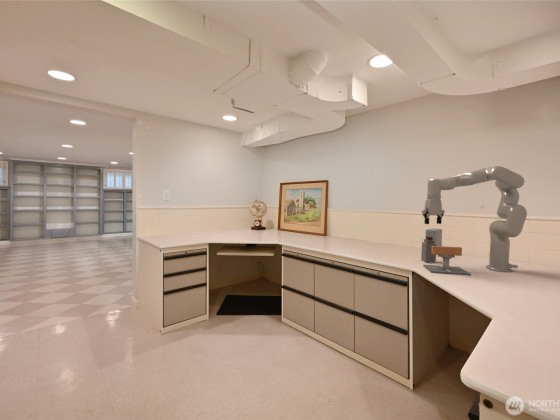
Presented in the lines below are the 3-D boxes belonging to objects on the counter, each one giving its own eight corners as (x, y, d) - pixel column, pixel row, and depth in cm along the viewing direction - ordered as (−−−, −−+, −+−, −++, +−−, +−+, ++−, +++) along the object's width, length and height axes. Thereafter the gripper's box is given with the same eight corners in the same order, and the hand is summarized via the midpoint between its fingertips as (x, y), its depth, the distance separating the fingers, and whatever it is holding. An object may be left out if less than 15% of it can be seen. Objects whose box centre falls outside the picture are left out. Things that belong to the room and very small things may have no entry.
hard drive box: (431, 251, 222) (432, 228, 221) (441, 252, 216) (442, 229, 215) (424, 253, 212) (425, 229, 211) (434, 255, 206) (435, 230, 205)
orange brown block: (458, 256, 163) (458, 246, 162) (463, 259, 156) (463, 248, 156) (430, 255, 166) (430, 245, 166) (433, 257, 160) (434, 247, 160)
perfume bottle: (431, 260, 187) (432, 236, 186) (435, 263, 181) (436, 237, 180) (421, 260, 188) (422, 235, 187) (425, 262, 181) (426, 237, 180)
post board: (458, 268, 167) (459, 256, 167) (470, 275, 152) (471, 262, 151) (423, 266, 172) (423, 254, 171) (431, 272, 156) (432, 259, 156)
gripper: (439, 197, 174) (438, 223, 175) (418, 197, 170) (417, 223, 171) (449, 197, 167) (448, 224, 168) (427, 197, 163) (426, 224, 163)
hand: (432, 223), depth 169 cm, fingers open, 9 cm apart
